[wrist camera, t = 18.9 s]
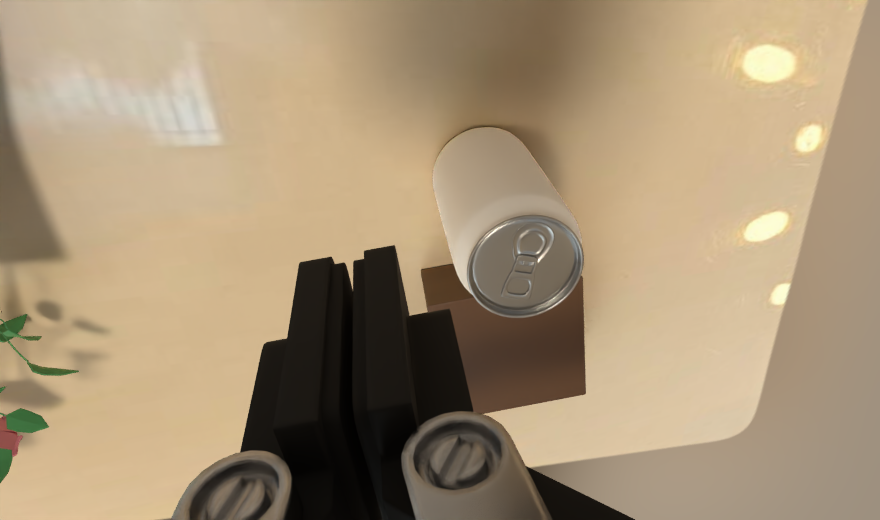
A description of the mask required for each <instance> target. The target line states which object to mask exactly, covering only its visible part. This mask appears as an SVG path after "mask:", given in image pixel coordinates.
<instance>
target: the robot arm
mask: <svg viewBox="0 0 880 520" xmlns="http://www.w3.org/2000/svg"><path fill="white" fill-rule="evenodd" d="M171 520H635V519H633V518H631V517H629V516H627V515H625V514H622V513H621V512H619V511H616V510H614V509H612V508H610V507H608V506H606V505H604V504H602V503H600V502H598V501H596V500H594V499H592V498H590V497H588V496H586V495H584V494H582V493H580V492H578V491H576V490H574V489H572V488H569V487H567V486H565V485H563V484H561V483H559V482H557V481H555V480H553V479H551V478H549V477H547V476H545V475H543V474H541V473H539V472H537V471H535V470H533V469H531V468H529V467H527V466H525V464H524V462H523V460H522V458H521V456H520V454H519V452H518V450H517V448H516V446H515V444H514V442H513V440H512V438H511V436H510V435H509V433H508V432H507V431H506V430H505V428H504V427H503V426H502V424H500V423H499V422H497V421H495V420H494V419H492V418H491V417H489V416H486V415H483V414H480V413H476V412H474V411H473V406H472V402H471V398H470V393H469V389H468V385H467V380H466V376H465V372H464V367H463V363H462V359H461V354H460V350H459V346H458V341H457V337H456V333H455V328H454V324H453V320H452V315H451V311H450V308H449V309H444V310H439V311H433V312H428V313H422V314H417V315H411V316H409V311H408V306H407V301H406V296H405V292H404V287H403V282H402V277H401V272H400V267H399V262H398V258H397V253H396V249H395V245H393V246H388V247H382V248H377V249H371V250H366V251H364V259H361V260H356V261H354V263H353V290H352V286H351V282H350V278H349V274H348V270H347V267H346V264H345V263H339V264H334V261H333V259H332V257H327V258H322V259H316V260H311V261H305V262H300V264H299V268H298V274H297V281H296V287H295V293H294V299H293V306H292V312H291V318H290V324H289V330H288V337H287V339H282V340H276V341H271V342H267V343H265V344H264V346H263V349H262V352H261V357H260V362H259V366H258V371H257V376H256V381H255V385H254V390H253V395H252V399H251V404H250V409H249V413H248V418H247V423H246V428H245V432H244V437H243V442H242V446H241V451H240V453H235V454H233V455H230V456H228V457H226V458H223V459H221V460H219V461H217V462H215V463H214V464H212V465H211V466H209V467H208V468H206V469H205V470H204V471H202V472H201V473H200V474H199V475H198V476H197V477H196V478H195V479H194V480H193V481H192V482H191V483H190V484H189V486H188V487H187V489H186V491H185V492H184V494H183V495H182V497H181V498H180V500H179V503H178V505H177V507H176V509H175V511H174V513H173V516H172V518H171Z"/></svg>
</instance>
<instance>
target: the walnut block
mask: <svg viewBox="0 0 880 520" xmlns="http://www.w3.org/2000/svg"><path fill="white" fill-rule="evenodd" d="M421 276H422V281H423V287H424V293H425V299H426V304H427V310H428V312H433V311H439V310H444V309H449V308H450V311H451V315H452V320H453V324H454V328H455V333H456V337H457V341H458V346H459V350H460V354H461V359H462V363H463V367H464V372H465V376H466V380H467V385H468V389H469V393H470V398H471V402H472V406H473V411H474V412H476V413H480V414H484V413H490V412H495V411H500V410H505V409H511V408H516V407H521V406H526V405H532V404H537V403H542V402H547V401H553V400H558V399H563V398H568V397H574V396H579V395H584V394H586V383H585V345H584V307H583V277H582V276H581V277H580V279H579V281H578V283H577V285H576V287H575V288H574V290H573V291H572V292H571V293H570V295H569V296H568V297H567V298H566V299H565V300H564V301H562V302H561V303H560V304H558V305H557V306H556V307H554V308H552V309H550V310H548V311H546V312H544V313H542V314H539V315H535V316H531V317H525V318H510V317H504V316H500V315H497V314H495V313H492V312H490V311H488V310H487V309H485V308H484V307H483V306H482V305H480V304H479V303H478V302H477V300H476V299H475V298H474V296H473V295H472V294H471V293H470V292H469V291H468V290H467V289H466V288H465V287H464V286H463V284H462V283H461V281H460V279H459V277H458V275H457V273H456V270H455V267H454V264H451V265H446V266H440V267H435V268H430V269H424V270H421Z"/></svg>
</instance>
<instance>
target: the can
mask: <svg viewBox="0 0 880 520" xmlns="http://www.w3.org/2000/svg"><path fill="white" fill-rule="evenodd" d="M433 188H434V193H435V197H436V201H437V205H438V209H439V213H440V216H441V220H442V224H443V228H444V231H445V235H446V239H447V242H448V246H449V250H450V253H451V257H452V260H453V264H454V267H455V270H456V273H457V275H458V277H459V279H460V281H461V283H462V284H463V286H464V287H465V288H466V289H467V290H468V291H469V292H470V293H471V294H472V295H473V296H474V298H475V299H476V300H477V302H478V303H479V304H480V305H482V306H483V307H484V308H485V309H487V310H488V311H490V312H492V313H495V314H497V315H500V316H504V317H510V318H525V317H531V316H535V315H539V314H542V313H544V312H546V311H548V310H550V309H552V308H554V307H556V306H557V305H558V304H560V303H561V302H562V301H564V300H565V299H566V298H567V297H568V296H569V295H570V293H571V292H572V291H573V290H574V288H575V287H576V285H577V283H578V281H579V279H580V277H581V274H582V270H583V264H584V255H583V249H582V240H581V233H580V229H579V226H578V224H577V222H576V219H575V218H574V216H573V214H572V213H571V211H570V209H569V208H568V206H567V205H566V203H565V202H564V200H563V199H562V198H561V196H560V195H559V193H558V192H557V190H556V189H555V187H554V186H553V185H552V183H551V182H550V180H549V179H548V177H547V176H546V175H545V173H544V172H543V170H542V169H541V167H540V166H539V165H538V163H537V162H536V160H535V159H534V158H533V156H532V155H531V153H530V152H529V151H528V149H527V148H526V147H525V145H524V144H523V143H522V142H521V141H520V140H519V139H518V138H517V137H516V136H514V135H513V134H512V133H510V132H508V131H506V130H503V129H499V128H492V127H482V128H475V129H471V130H468V131H465V132H463V133H461V134H459V135H457V136H456V137H454V138H453V139H452V140H451V141H449V142H448V143H447V144H446V146H445V147H444V148H443V149H442V151H441V152H440V154H439V155H438V157H437V160H436V162H435V165H434V169H433Z"/></svg>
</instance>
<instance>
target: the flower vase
mask: <svg viewBox="0 0 880 520" xmlns="http://www.w3.org/2000/svg"><path fill="white" fill-rule="evenodd" d="M0 314H2V311H1V309H0ZM26 317H27V314H25V315H23V316H20V317H17V318H14V319H12V320H9V321H6V322H4V321H3V320H2V319H0V320H1V321H3V324H1V325H0V342H6V341H8V343H9V344H10V345H11V346H12V347H13V349H14V350H15V351H16V352H17V353H18V354H19V355H20V356H21V357H22V358H23V359H24V360H26V361H27V364H28V365H29V367H30V368H31V370H32V371H33V372H34V373H38V374H41V375H55V376H61V375H66V374H71V373H76V372H79V371H76V370H66V369H57V368H47V367H41V366H38V365H34V364H31V363H29V362H28V360H27V359H25V358H24V357H23V356H22V355H21V354H20V353H19V352H18V351H17V350H16V349H15V347H14V346H13V345H12V344H11V343H10V341H9V340H10V339H12V338H13V337H20V338H23V339H26V340H39V339H40V338H41V337H42V336H21V335H19V334H18V333H19V332H20V331H21V330H22V329H23V326H24V323H25V320H26ZM4 388H5V386H4V387H1V388H0V393H1V392H2V391H3V389H4ZM0 414H1V415H3V417H2V418H0V483H1V482H2V480H3V479H4V478H5V476H6V475H7V474H8V472H9V469H10V466H11V462H12V457H13V456H16V455H17V452H18V445H19V442H20V440H21V439H22V437H23V436H22V435H20V436H17V432H26V433H33V432H36V431H39V430H42V429H45V428H48V427H49V426H48V425H47V423H46V422H45V420H44V419H43V418H42V416H40V415H38V414H36V413H33V412H31V411H28V410H25V409H21V408H20V409H18V410H16V411H14V412H12V413H10V414H8V415H4V414H2V413H0ZM14 431H16V432H14Z"/></svg>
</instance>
